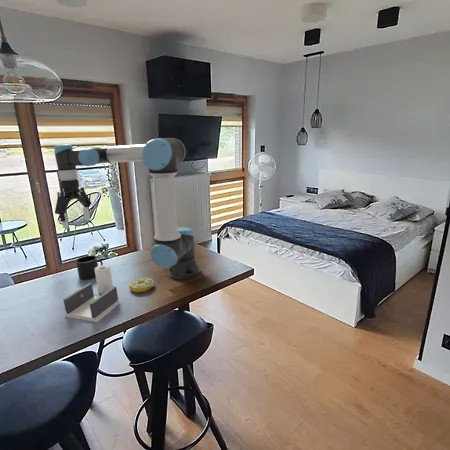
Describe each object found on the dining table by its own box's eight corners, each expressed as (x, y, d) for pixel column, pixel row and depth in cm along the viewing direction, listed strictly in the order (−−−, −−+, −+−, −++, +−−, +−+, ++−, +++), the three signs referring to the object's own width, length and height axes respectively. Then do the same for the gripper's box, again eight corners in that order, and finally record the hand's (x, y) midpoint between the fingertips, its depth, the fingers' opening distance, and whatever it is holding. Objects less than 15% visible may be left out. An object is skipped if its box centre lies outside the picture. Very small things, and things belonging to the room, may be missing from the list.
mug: (107, 274, 158) (104, 257, 156) (82, 281, 151) (78, 264, 148) (101, 268, 165) (98, 252, 163) (76, 275, 158) (73, 258, 156)
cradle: (120, 303, 130) (117, 286, 128) (97, 322, 117) (93, 304, 115) (90, 298, 135) (87, 282, 133) (65, 316, 122) (61, 299, 120)
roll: (116, 288, 143) (112, 265, 140) (107, 294, 138) (103, 271, 134) (104, 286, 145) (101, 263, 142) (95, 293, 140) (91, 269, 136)
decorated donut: (158, 287, 143) (158, 280, 142) (138, 296, 135) (137, 289, 134) (145, 281, 149) (144, 273, 148) (125, 289, 142) (124, 282, 141)
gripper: (82, 175, 157) (89, 216, 163) (39, 183, 134) (49, 230, 140) (94, 175, 154) (101, 217, 160) (53, 183, 132) (62, 231, 138)
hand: (77, 223), depth 150 cm, fingers open, 13 cm apart
